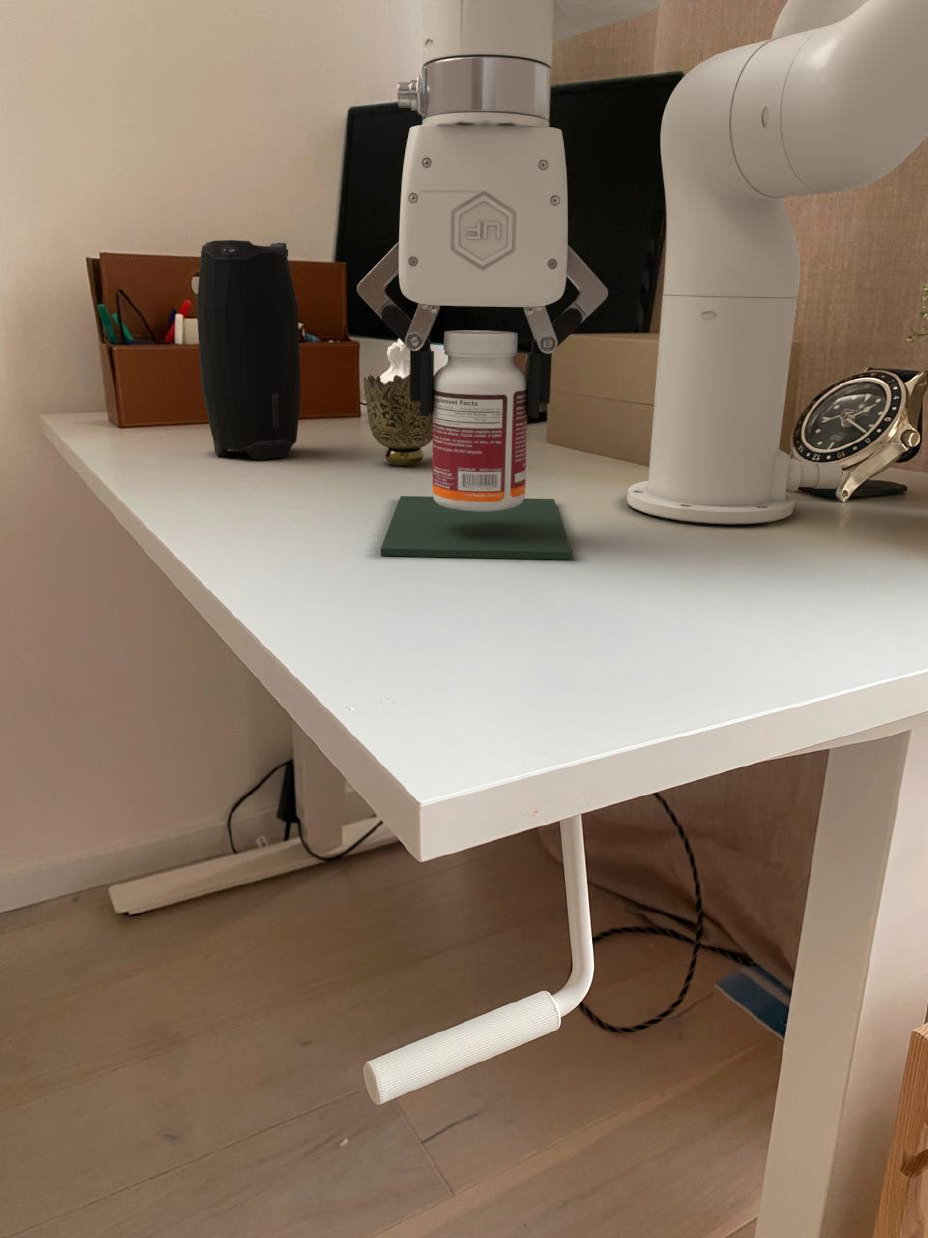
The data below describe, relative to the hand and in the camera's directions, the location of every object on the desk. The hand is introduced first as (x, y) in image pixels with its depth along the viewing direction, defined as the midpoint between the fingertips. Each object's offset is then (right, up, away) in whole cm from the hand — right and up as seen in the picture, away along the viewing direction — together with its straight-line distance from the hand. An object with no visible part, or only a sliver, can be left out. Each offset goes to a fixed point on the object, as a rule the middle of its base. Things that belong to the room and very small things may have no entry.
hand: (479, 411), depth 64 cm
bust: (-9, +11, +57) cm, 59 cm away
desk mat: (0, -7, +6) cm, 9 cm away
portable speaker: (-22, +3, +33) cm, 40 cm away
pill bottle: (0, -6, +2) cm, 6 cm away
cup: (-7, +1, +29) cm, 30 cm away
